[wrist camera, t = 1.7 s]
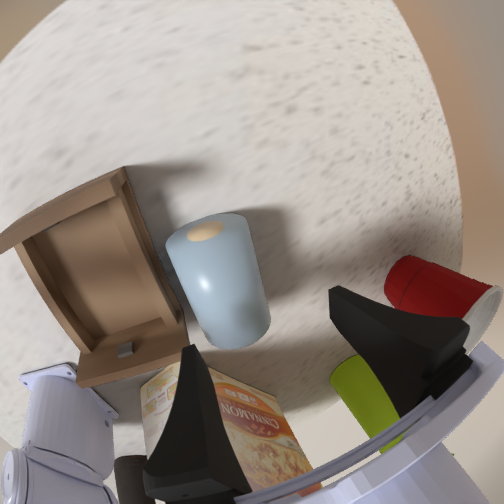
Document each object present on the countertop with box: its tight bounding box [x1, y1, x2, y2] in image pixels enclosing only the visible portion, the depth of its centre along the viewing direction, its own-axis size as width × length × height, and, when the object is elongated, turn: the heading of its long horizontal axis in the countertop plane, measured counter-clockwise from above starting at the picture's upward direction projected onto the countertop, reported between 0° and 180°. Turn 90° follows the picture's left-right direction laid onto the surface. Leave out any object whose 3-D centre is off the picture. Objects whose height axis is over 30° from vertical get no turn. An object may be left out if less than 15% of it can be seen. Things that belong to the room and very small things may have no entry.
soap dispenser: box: [330, 355, 454, 456], centre depth 24 cm, size 6×7×20 cm
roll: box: [166, 213, 271, 349], centre depth 18 cm, size 8×5×5 cm, turn 13°
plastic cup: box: [384, 255, 503, 355], centre depth 23 cm, size 11×11×12 cm
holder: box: [0, 166, 190, 389], centre depth 14 cm, size 12×9×5 cm
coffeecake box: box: [140, 361, 323, 504], centre depth 18 cm, size 15×7×20 cm, turn 39°
